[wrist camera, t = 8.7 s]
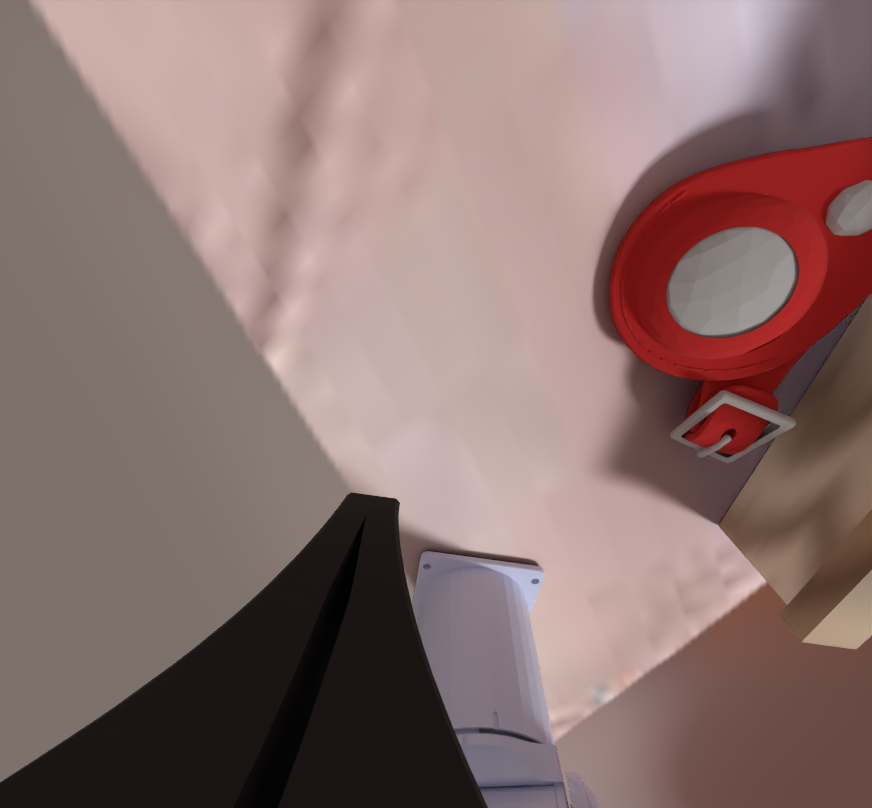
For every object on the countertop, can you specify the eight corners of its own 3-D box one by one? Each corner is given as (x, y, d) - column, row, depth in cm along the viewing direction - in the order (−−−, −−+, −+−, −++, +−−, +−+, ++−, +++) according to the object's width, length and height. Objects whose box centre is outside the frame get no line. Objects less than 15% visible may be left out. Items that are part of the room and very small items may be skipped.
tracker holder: (560, 262, 15) (906, 24, 10) (567, 257, 19) (820, 84, 13) (702, 498, 16) (1069, 401, 11) (682, 450, 20) (950, 360, 15)
